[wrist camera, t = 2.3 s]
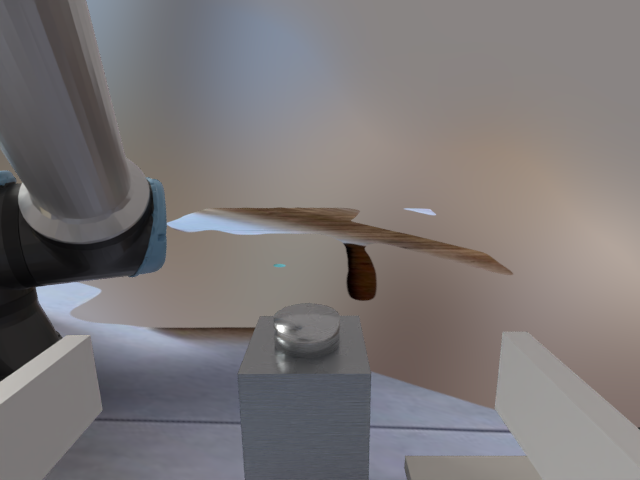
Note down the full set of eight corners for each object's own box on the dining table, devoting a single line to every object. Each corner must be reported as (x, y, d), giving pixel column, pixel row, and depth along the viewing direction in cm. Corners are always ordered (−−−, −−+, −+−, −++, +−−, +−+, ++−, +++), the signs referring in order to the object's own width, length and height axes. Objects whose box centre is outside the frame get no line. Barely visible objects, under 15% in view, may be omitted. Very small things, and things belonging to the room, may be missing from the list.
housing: (268, 478, 30) (258, 295, 26) (356, 478, 29) (359, 294, 26) (251, 576, 23) (235, 346, 19) (366, 577, 23) (371, 345, 19)
